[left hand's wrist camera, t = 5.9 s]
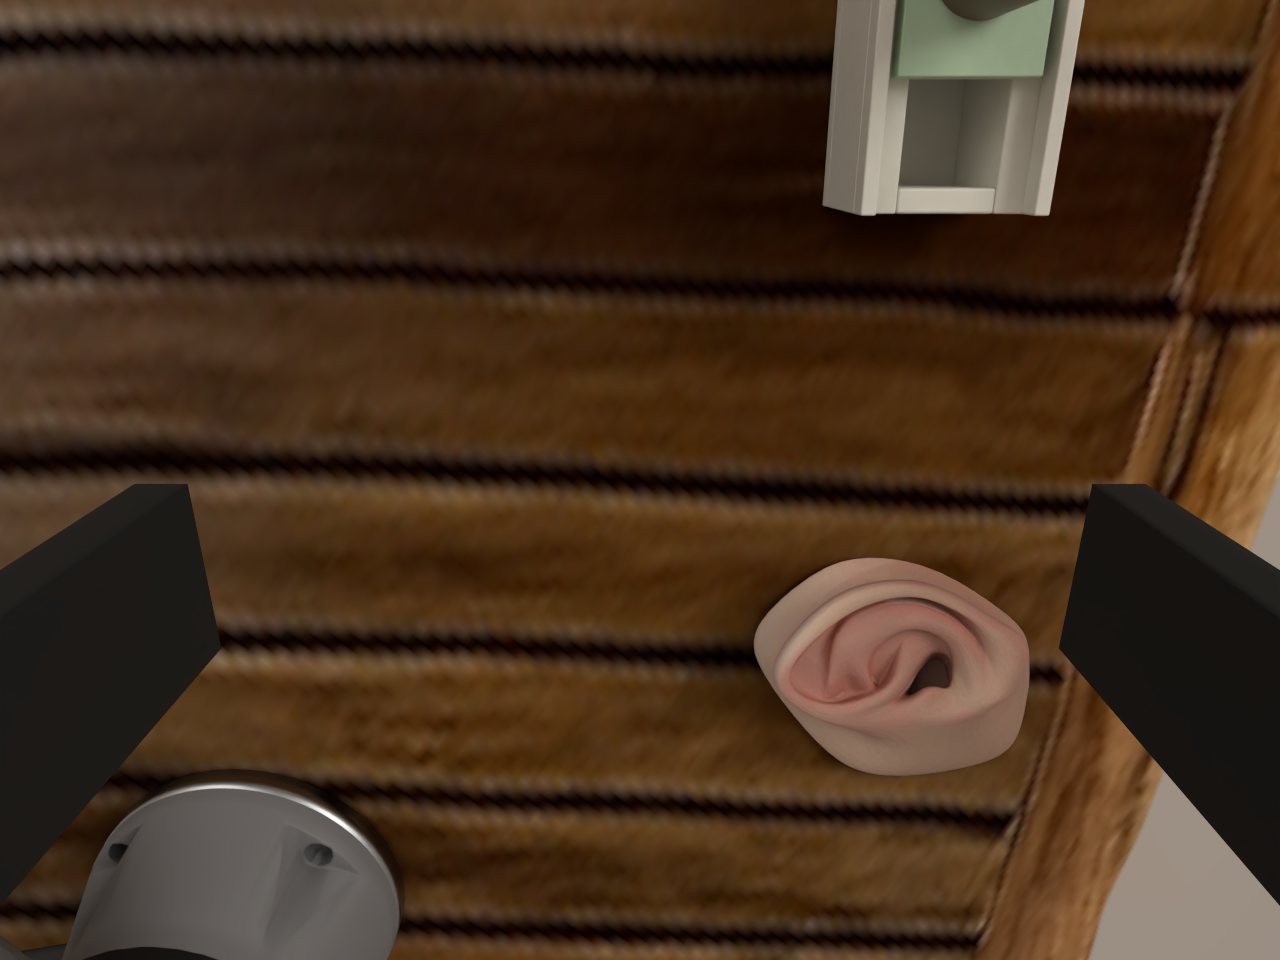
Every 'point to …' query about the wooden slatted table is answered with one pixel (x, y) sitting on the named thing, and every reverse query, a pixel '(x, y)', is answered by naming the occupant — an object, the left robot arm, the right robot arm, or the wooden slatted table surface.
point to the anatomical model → (896, 667)
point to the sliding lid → (971, 39)
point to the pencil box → (941, 126)
